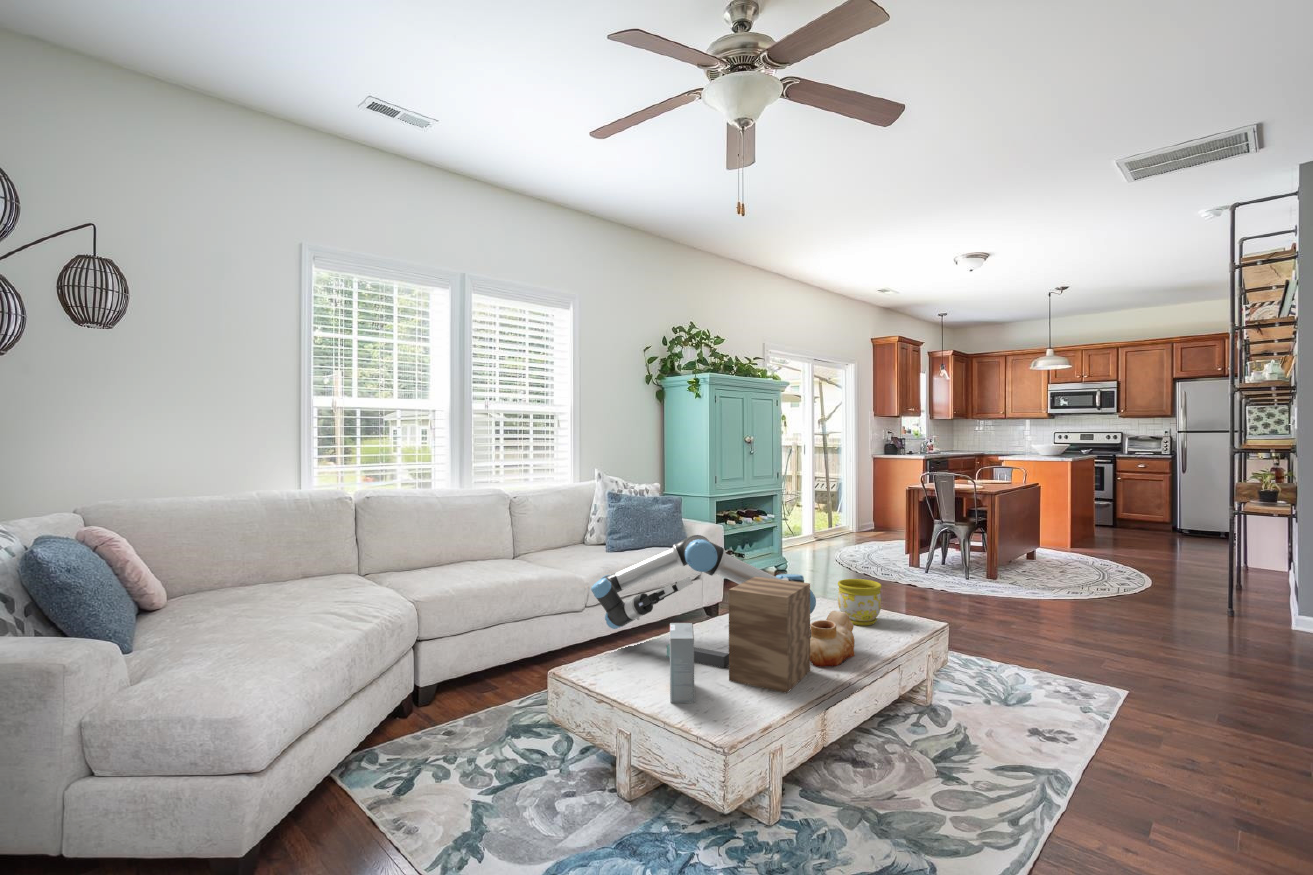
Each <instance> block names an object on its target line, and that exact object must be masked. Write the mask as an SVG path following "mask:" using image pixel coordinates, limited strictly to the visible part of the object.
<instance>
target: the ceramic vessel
mask: <svg viewBox="0 0 1313 875" xmlns="http://www.w3.org/2000/svg"><path fill="white" fill-rule="evenodd" d="M854 626H855V625H853V623H852V622H851V621H850V620H849V616H848V614H847V613H845V612H841V611H837V610H832V611H829V613H828V615H827V618H826V619H825V620H824V619H820V620H815V621H812V622H810V664H812V666H815V667H818V668H826V667H834V668H835V667H838V666H841V665H842V664H843V663H845V661H846V660H848V659H851V658H853V657H854V656H855V651H854V649H855V635H854V633H853V630H854Z"/></svg>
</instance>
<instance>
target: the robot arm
mask: <svg viewBox="0 0 1313 875" xmlns="http://www.w3.org/2000/svg"><path fill="white" fill-rule="evenodd" d="M678 566H681V567H685V566H689V567H690V568H691V569H692V570H693V571H696V572H698V573H699V572H700V573H705V574H706V575H708V576H711V577H713V576H717V575H718V576H720V577H723V578H725V579H726V580H729V581H731V582H734V583H736V584H737V585H739V584H741V583H743V582H745V581H748V580H750V579H752V578H754V577H763V578H771V579H779V580H787V581H795V582H803V583H805V578H804V577H805V576H804V575H803V574H796V573H794V574H793V573H785V574H784V573H781V574H776V575H775V576H774V575H773V574H771V573H769V572H767V571H765V570H762V569H760V568H757V567H756V566H754V565H751V564H750V563H746V562H745V561H742V560H741V559H738V558H736V557H734V556H732V555H730V554H728V553H726V550H725V547H722V546H720V545H718V544H716V543H713V542H712V541H710V540H709V539H708V538H707V537H706V536H704V535H701V534H700V535H699V534H693V535H691V536H690V535H689V537H686V538H685V539H682V540H680V541H678V542H675V543H674V544H672V547H671V548H669V549H666V550H664V551H662V552H660V553H658V554H655V555H653V556H650V557H648V558H646V559H644V560H642V561H638V562H637V563H635V564H633V565H630V566H628V567H626V568H624V569H621V570H619V571H617V572H615V573H612V574H607V575H603V576H602V577H601V578H600V579H599V580H597V581H596V582H595V583H594V584H593V585H592V586H591V588H590V590H591V592H592V594H593V596H594V598H596V600H597V601H598V602H599V603H600V605H601V606H602V607H603V609H604V611H605V612H606V613H605V615H604V620H605V621H606V626H608V627H609V628H610V629H613V630H616V629H619V628H621V627H622V628H623V627H624V626H626V625H628V624H630V623H632V622H633V621H636V620H637V621H639V620H640V619H641V617H642V616H646V615H647V614H649V613H651V612H652V611H653V608H654V605H656V604H658V603H659V602H661V601H663V600H664V599H665V598H667V597H669V596H671V595H673V594H675V593H677V592H679V591H680V592H681V591H682V590H683V589H685V588H687V587H689V586H691V585H692V584H693V582H692V579H691V577H690V576H688V577H686V578H684V579H683V580H680V581H679V582H677V581H675V584H674V585H672V584H668V585H666V586H665V587H663V588H661V589H659V590H657V591H656V592H653V593H650V594H647V593H644V592H643V593H642V592H641V593H640V594H638V595H635V596H634V597H632V598H630V599H628V600H626V601H625V602H624V600H623V599H622V597H621V596H620V595H619V593H621V592H623V591H624V590H627V589H628V588H631V587H633V586H635V585H637V584H640V583H642V582H644V581H647V580H649V579H651V578H653V577H656V576H659V575H660V574H662V573H665V572H667V571H669V570H671V569H674V568H677V567H678ZM816 605H817V599H816V595H815V593H814V592H813V591H812V590H811V589H810V615H811V614H813V612H814V610H815V608H816Z"/></svg>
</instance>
